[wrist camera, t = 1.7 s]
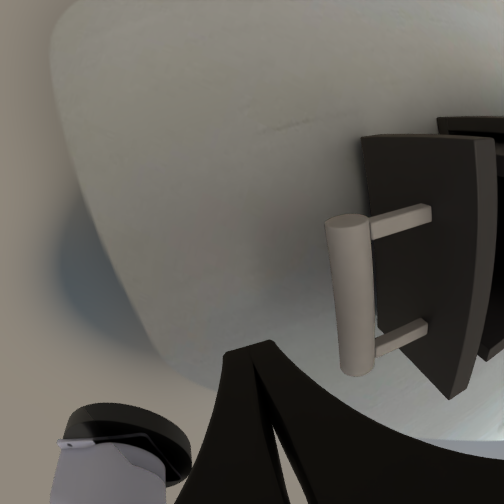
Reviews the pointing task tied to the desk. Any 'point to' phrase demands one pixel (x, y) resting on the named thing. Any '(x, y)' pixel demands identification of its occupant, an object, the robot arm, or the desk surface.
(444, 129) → the cabinet
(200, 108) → the desk surface
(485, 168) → the drawer
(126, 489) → the robot arm
